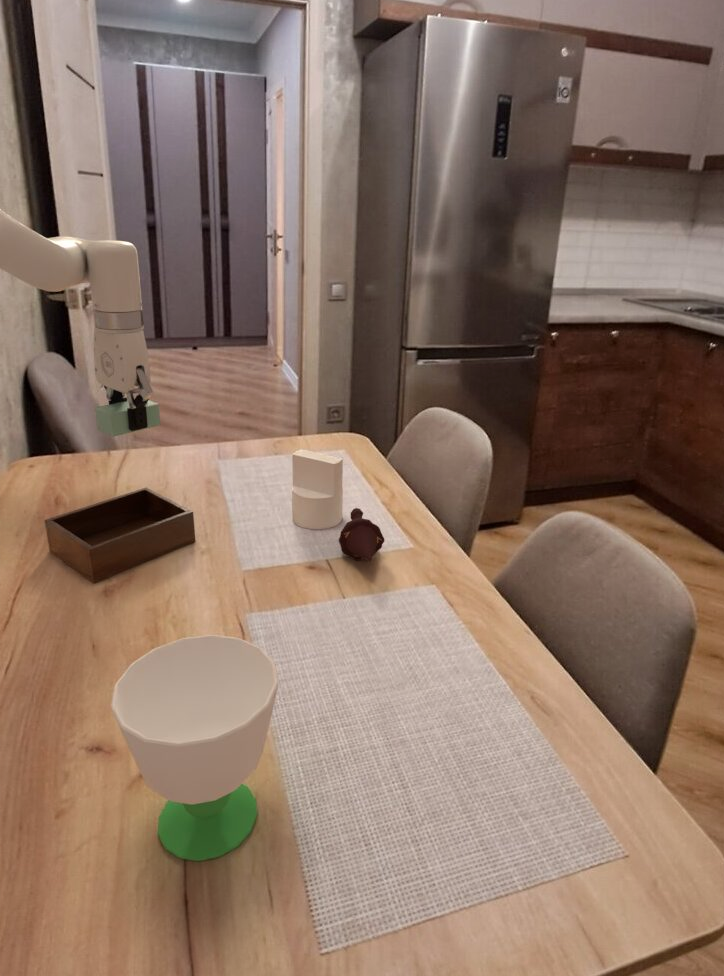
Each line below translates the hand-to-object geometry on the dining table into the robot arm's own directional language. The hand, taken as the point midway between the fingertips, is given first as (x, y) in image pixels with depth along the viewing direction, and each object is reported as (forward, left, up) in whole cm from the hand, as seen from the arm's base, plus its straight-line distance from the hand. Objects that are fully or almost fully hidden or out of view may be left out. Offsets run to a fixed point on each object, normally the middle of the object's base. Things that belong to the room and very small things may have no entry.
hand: (129, 423), depth 116 cm
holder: (+12, -10, -16) cm, 22 cm away
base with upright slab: (+27, +19, -16) cm, 37 cm away
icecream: (+42, +14, -16) cm, 47 cm away
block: (0, 0, -1) cm, 1 cm away
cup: (+64, -32, -16) cm, 73 cm away
